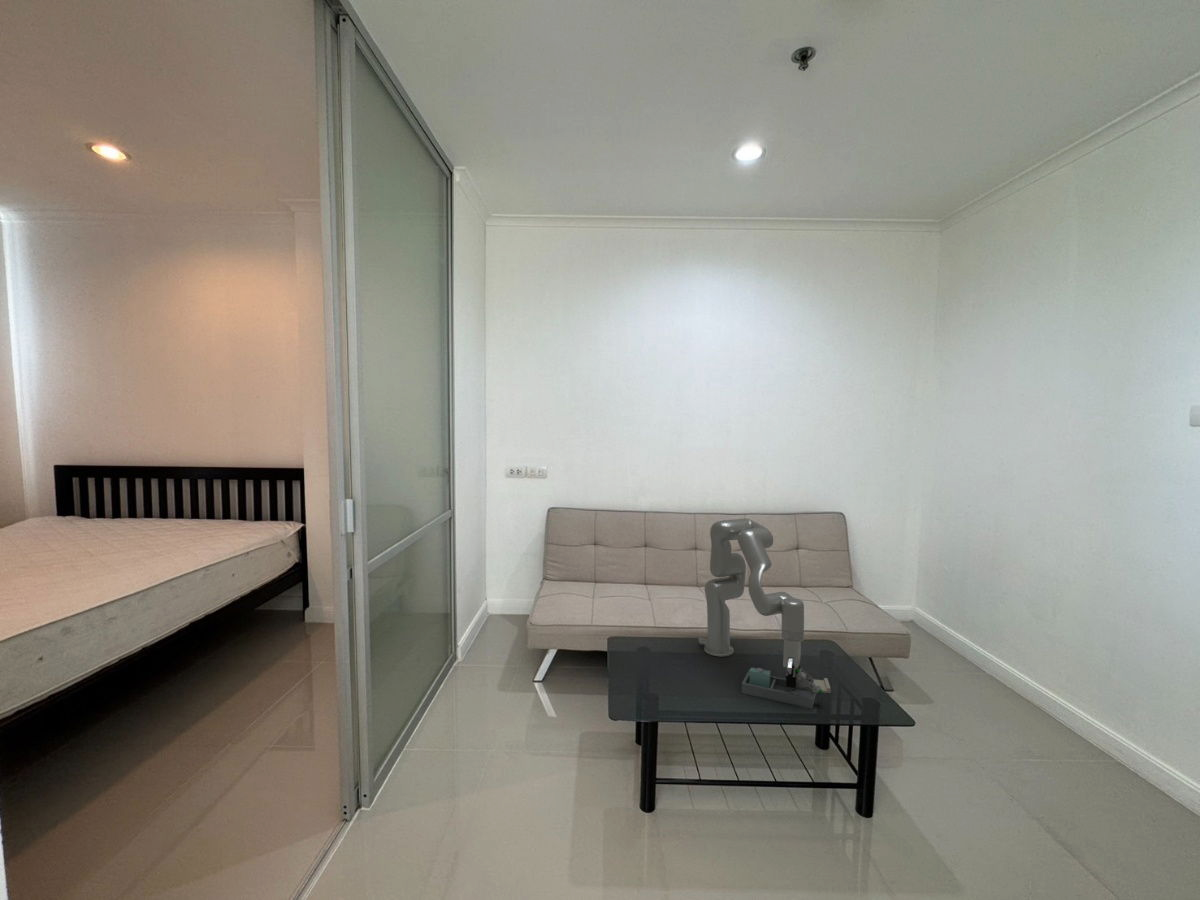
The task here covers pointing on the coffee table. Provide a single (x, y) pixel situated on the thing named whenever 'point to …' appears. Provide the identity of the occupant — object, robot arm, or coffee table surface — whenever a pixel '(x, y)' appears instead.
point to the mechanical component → (805, 682)
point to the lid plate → (823, 685)
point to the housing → (775, 689)
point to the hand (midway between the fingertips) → (792, 680)
